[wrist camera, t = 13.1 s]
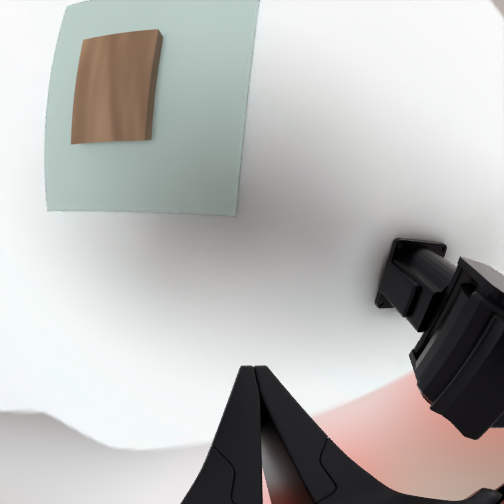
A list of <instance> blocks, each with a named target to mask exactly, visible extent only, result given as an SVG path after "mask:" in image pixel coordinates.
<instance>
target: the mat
mask: <svg viewBox="0 0 504 504" xmlns="http://www.w3.org/2000/svg"><path fill="white" fill-rule="evenodd" d="M258 5H259V0H88V1H84V2H80V3H77V4H73V5H70V6H67V7H66V11H65V14H64V17H63V21H62V24H61V28H60V32H59V36H58V40H57V44H56V49H55V54H54V59H53V64H52V70H51V76H50V83H49V91H48V99H47V110H46V124H45V186H46V201H47V211H116V212H154V213H181V214H203V215H222V216H236V209H237V198H238V187H239V176H240V165H241V155H242V145H243V135H244V125H245V115H246V106H247V97H248V87H249V79H250V70H251V61H252V53H253V44H254V36H255V28H256V20H257V12H258ZM153 29H159V31H160V32H161V34H162V36H163V41H162V47H161V53H160V59H159V66H158V73H157V81H156V89H155V98H154V109H153V120H152V133H151V140H143V141H113V142H96V143H83V144H72V145H71V128H72V113H73V102H74V92H75V84H76V77H77V70H78V64H79V58H80V53H81V48H82V43H83V40H84V39H89V38H94V37H99V36H105V35H111V34H117V33H124V32H132V31H141V30H153Z"/></svg>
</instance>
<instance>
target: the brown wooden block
mask: <svg viewBox="0 0 504 504" xmlns="http://www.w3.org/2000/svg"><path fill="white" fill-rule="evenodd" d="M162 41H163V36H162V34H161V32H160V31H159V29H153V30H141V31H132V32H124V33H117V34H111V35H105V36H99V37H94V38H89V39H84V40H83V43H82V48H81V53H80V58H79V64H78V70H77V77H76V84H75V92H74V102H73V113H72V128H71V145H72V144H83V143H96V142H113V141H143V140H151V133H152V120H153V109H154V98H155V89H156V81H157V73H158V66H159V59H160V53H161V47H162Z"/></svg>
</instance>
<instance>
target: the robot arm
mask: <svg viewBox="0 0 504 504" xmlns="http://www.w3.org/2000/svg"><path fill="white" fill-rule="evenodd" d="M399 243H400V245H399V246H398V244H399ZM446 249H447V246H446V245H445V244H444V243H441V242H432V241H422V240H413V239H403V238H397V239H396V240H395V241H394V243H393V246H392V250H391V253H390V257H389V260H388V264H387V267H386V271H385V274H384V277H383V280H382V283H381V287H380V290H379V293H378V296H377V299H376V301H375V304H376V306H377V307H378V308H395V309H396V310H397V311H398V312H399V313H400V314H401V316H402V317H405V318H406V319H407V320H408V321H409V322H410V324H411V325H412V326H413V327H414V328H415V330H416V331H417V332H422V333H423V335H422V336H421V338H420V340H419V341H418V343H417V345H416V346H415V348H414V349H412V351H411V352H410V354H409V357H410V360H411V363H412V366H413V369H414V373H415V376H416V379H417V386H418V389H419V390H420V392H421V394H422V396H423V398H424V399H425V400H426V401H427V402H428V403H429V404H431V406H430V409H431V410H432V411H434V412H436V413H438V414H441V415H442V416H443V417H445V418H446V419H448V420H449V421H450V422H451V423H452V424H453V425H454V426H455V427H456V428H457V429H458V430H459V431H460V432H461V433H462V435H463V436H465V437H468V438H471V439H474V440H477V439H479V438H480V437H481V436H482V435H483V434H484V433H485V432H486V431H487V430H488V429H489V428H504V275H502V274H501V273H499V272H497V271H496V270H494V269H493V268H491V267H490V266H488V265H485V264H482V263H479V262H476V261H473V260H470V259H467V258H464V257H461V256H460V258H459V260H458V263H457V264H458V266H457V267H455V266H454V265H453V264H451V263H450V262H448V261H447V260H446V259H444V256H445V253H446ZM380 302H381V303H380ZM327 437H328V436H327V435H326V434H325V433H324V431H323V430H322V429H321V428H320V427H319V426H318V425H317V424H316V423H315V422H314V420H312V418H311V417H310V416H309V415H308V414H307V413H306V411H305V410H304V409H303V408H302V407H301V406H300V405H299V403H298V402H297V401H296V400H295V399H294V398H293V397H292V395H291V394H290V393H289V392H288V391H287V390H286V388H285V387H284V386H283V385H282V384H281V382H280V381H279V380H278V379H277V378H276V376H275V375H274V374H273V373H272V372H271V370H270V369H269V368H268V367H267V366H265V365H262V366H254V367H253V366H241V367H240V369H239V372H238V374H237V377H236V380H235V383H234V385H233V388H232V391H231V394H230V397H229V399H228V402H227V405H226V407H225V410H224V413H223V416H222V418H221V421H220V424H219V426H218V429H217V432H216V434H215V437H214V439H213V442H212V446H211V447H210V450H209V452H208V455H207V457H206V460H205V462H204V464H203V466H202V469H201V471H200V472H199V474H198V476H197V478H196V480H195V481H194V483H193V485H192V486H191V488H190V490H189V491H188V493H187V494H186V496H185V497H184V499H183V501H182V502H181V504H263V498H262V466H263V471H264V475H265V479H266V483H267V487H268V491H269V495H270V499H271V503H272V504H504V484H502V485H501V486H500V487H498V488H497V489H495V490H492V489H487V488H481V489H480V490H478V491H476V492H475V493H473V494H472V495H470V496H469V497H467V498H466V499H464V500H461V501H447V500H438V499H431V498H424V497H418V496H412V495H407V494H403V493H399V492H397V491H394V490H392V489H390V488H388V487H387V486H385V485H384V484H382V483H381V482H379V481H378V480H377V479H375V478H374V477H373V476H372V475H370V474H369V473H368V472H366V471H365V470H364V469H362V468H361V467H360V466H359V465H357V464H356V463H355V462H354V461H353V460H351V459H350V458H349V457H348V456H347V455H346V454H345V453H344V452H343V451H342V450H340V448H339V447H338V446H337V445H336V444H335V443H334V442H333V441H332V440H331V439H330V438H327Z"/></svg>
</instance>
